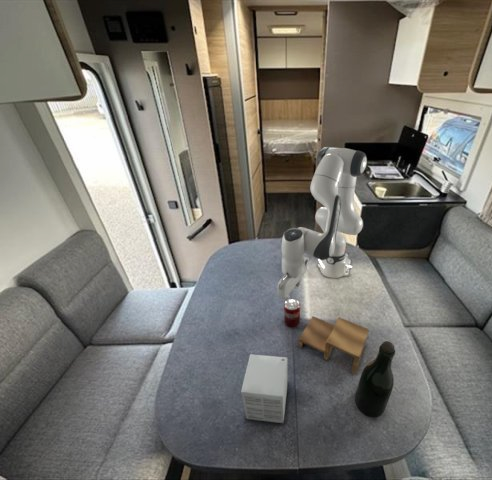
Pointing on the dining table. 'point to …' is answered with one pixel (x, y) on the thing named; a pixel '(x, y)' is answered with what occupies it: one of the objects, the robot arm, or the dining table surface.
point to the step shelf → (335, 338)
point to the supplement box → (265, 388)
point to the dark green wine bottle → (376, 383)
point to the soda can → (292, 313)
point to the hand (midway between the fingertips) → (292, 292)
